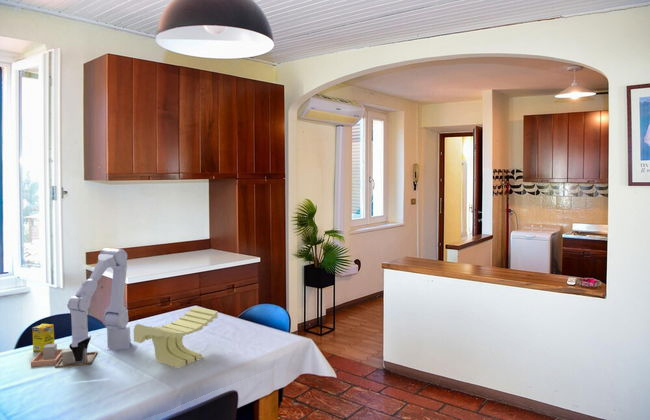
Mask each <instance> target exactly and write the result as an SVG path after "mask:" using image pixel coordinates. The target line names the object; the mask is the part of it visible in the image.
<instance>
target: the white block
mask: <svg viewBox="0 0 650 420" xmlns="http://www.w3.org/2000/svg"><path fill="white" fill-rule="evenodd" d="M61 349H62V364H63V365H65V364H71V363H74V355H73V352H72V350H71V349H70V347H69V348H61Z"/></svg>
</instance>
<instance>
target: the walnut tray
mask: <svg viewBox="0 0 650 420" xmlns="http://www.w3.org/2000/svg"><path fill="white" fill-rule="evenodd" d="M73 355H74V354H73ZM97 355H98V351H87V361H86V363H76V364H74V363H71V364H65V365H63V364H62V357H61V359H60V360H59V361H58V363H57V364H56V365H54V369H55V368H56V369H57V368H66V367H77V366H78V367H79V366H90V365H93V362H94V360H95V358H96V357H97Z"/></svg>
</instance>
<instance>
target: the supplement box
mask: <svg viewBox="0 0 650 420" xmlns="http://www.w3.org/2000/svg"><path fill="white" fill-rule="evenodd" d="M31 330H32V350H33V353H36V352H37V353H39V352H40V351H42V350H43V347H44V346H45V345H46V344H55V327H54V324H53V323H51V324H49V323H41V324H40V325H36V326H33V327H31Z"/></svg>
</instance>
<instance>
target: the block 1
mask: <svg viewBox="0 0 650 420" xmlns="http://www.w3.org/2000/svg"><path fill="white" fill-rule="evenodd" d="M57 349H58V344H57V343H54V344H46V345H45V346H44V347H43V358H44V359H54V358H55V357H56V356H57Z"/></svg>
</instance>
